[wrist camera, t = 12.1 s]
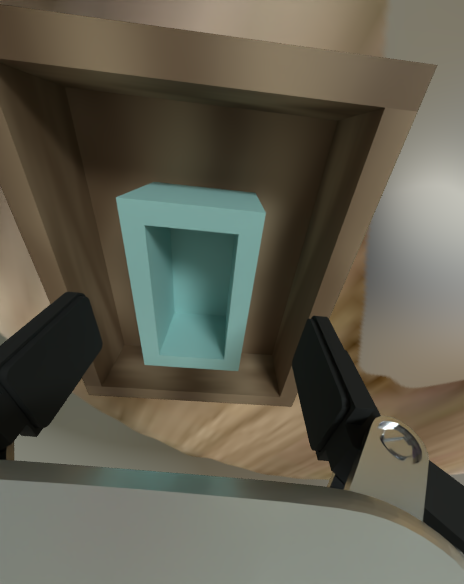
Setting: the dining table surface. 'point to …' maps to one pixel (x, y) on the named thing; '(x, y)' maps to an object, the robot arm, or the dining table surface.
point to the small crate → (191, 271)
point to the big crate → (195, 172)
